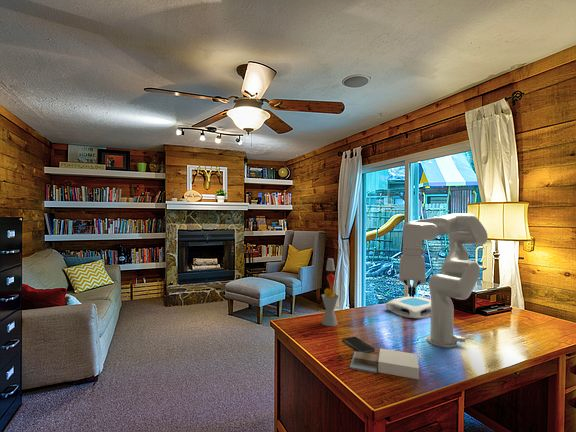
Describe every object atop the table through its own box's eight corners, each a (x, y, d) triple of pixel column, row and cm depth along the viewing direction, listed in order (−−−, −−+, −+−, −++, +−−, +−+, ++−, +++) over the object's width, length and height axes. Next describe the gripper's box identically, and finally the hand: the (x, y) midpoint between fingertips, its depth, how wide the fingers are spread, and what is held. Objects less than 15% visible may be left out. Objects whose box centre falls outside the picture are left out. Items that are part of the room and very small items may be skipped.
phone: (360, 352, 129) (341, 338, 143) (360, 355, 129) (341, 341, 143) (376, 349, 132) (355, 336, 146) (375, 352, 132) (355, 338, 146)
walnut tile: (379, 360, 123) (379, 355, 123) (377, 367, 117) (378, 361, 117) (356, 356, 126) (356, 351, 126) (354, 362, 120) (354, 357, 120)
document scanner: (443, 312, 186) (443, 302, 186) (415, 320, 172) (415, 309, 172) (413, 304, 204) (413, 294, 204) (385, 310, 189) (385, 300, 189)
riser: (416, 364, 121) (417, 354, 121) (418, 379, 110) (418, 368, 110) (380, 358, 126) (380, 348, 126) (378, 372, 115) (378, 361, 114)
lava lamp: (332, 319, 171) (333, 257, 171) (341, 325, 163) (342, 259, 163) (318, 321, 168) (319, 257, 168) (326, 327, 160) (327, 260, 159)
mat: (378, 356, 127) (378, 355, 127) (376, 373, 114) (376, 371, 114) (354, 352, 130) (354, 351, 130) (349, 368, 117) (349, 366, 117)
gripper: (431, 252, 129) (430, 295, 129) (393, 250, 134) (393, 292, 134) (432, 254, 122) (432, 300, 122) (393, 252, 127) (392, 296, 127)
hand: (411, 296), depth 128 cm, fingers closed
